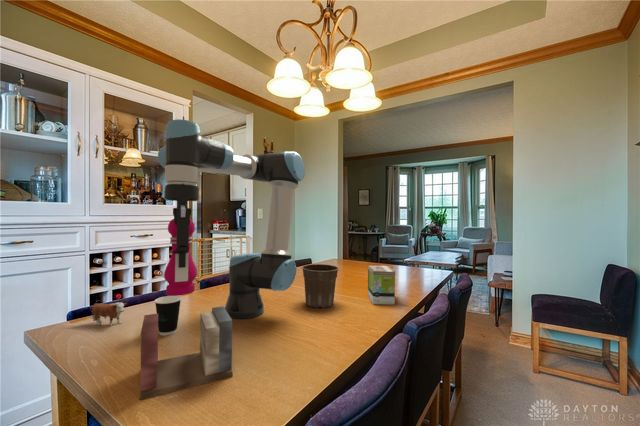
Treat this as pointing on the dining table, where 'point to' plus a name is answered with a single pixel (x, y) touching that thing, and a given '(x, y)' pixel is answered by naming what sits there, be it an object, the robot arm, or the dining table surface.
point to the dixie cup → (168, 314)
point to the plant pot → (319, 284)
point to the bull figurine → (107, 312)
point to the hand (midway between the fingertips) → (180, 277)
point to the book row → (187, 356)
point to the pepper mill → (169, 274)
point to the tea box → (381, 284)
